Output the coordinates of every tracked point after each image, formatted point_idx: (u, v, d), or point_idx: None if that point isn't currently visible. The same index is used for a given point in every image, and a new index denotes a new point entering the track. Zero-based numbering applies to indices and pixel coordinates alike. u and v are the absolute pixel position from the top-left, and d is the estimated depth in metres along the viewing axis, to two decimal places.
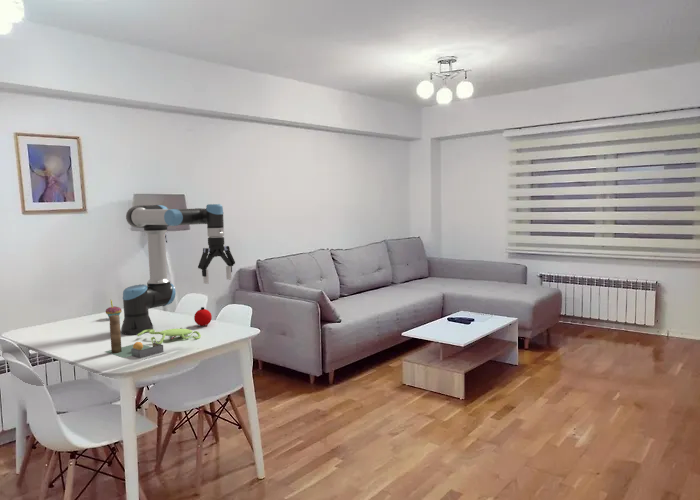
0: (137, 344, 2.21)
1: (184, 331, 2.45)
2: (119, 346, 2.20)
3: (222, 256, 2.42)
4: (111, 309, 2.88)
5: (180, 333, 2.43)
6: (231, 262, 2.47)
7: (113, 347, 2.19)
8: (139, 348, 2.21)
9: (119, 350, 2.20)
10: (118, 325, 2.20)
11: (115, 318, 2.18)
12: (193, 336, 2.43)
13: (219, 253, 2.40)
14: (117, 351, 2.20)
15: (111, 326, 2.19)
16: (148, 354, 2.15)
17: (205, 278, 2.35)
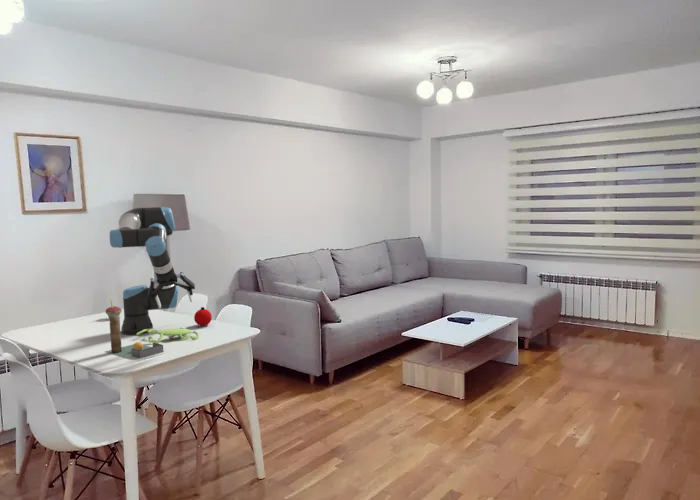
0: (137, 344, 2.21)
1: (182, 331, 2.45)
2: (119, 346, 2.20)
3: None
4: (111, 309, 2.88)
5: (178, 333, 2.43)
6: None
7: (113, 347, 2.19)
8: (139, 348, 2.21)
9: (119, 350, 2.20)
10: (118, 325, 2.20)
11: (115, 318, 2.18)
12: (191, 336, 2.42)
13: (170, 283, 2.20)
14: (117, 351, 2.20)
15: (111, 326, 2.19)
16: (148, 354, 2.15)
17: None
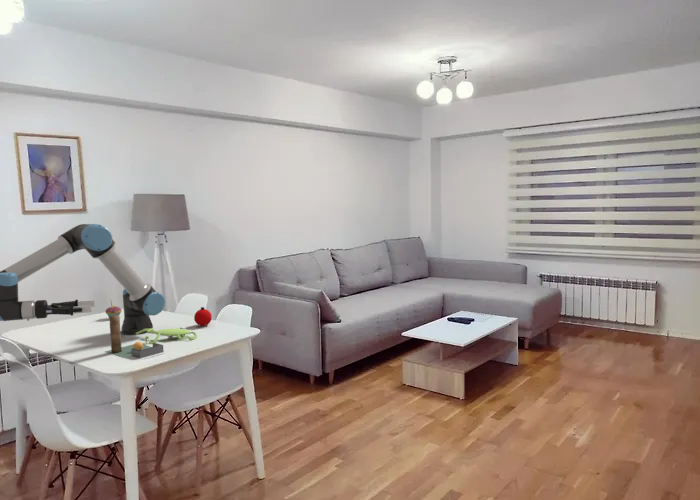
0: (137, 344, 2.21)
1: (181, 331, 2.45)
2: (119, 346, 2.20)
3: None
4: (111, 309, 2.88)
5: (176, 333, 2.43)
6: None
7: (113, 347, 2.19)
8: (139, 348, 2.21)
9: (119, 350, 2.20)
10: (118, 325, 2.20)
11: (115, 318, 2.18)
12: (188, 337, 2.42)
13: None
14: (117, 351, 2.20)
15: (111, 326, 2.19)
16: (148, 354, 2.15)
17: None
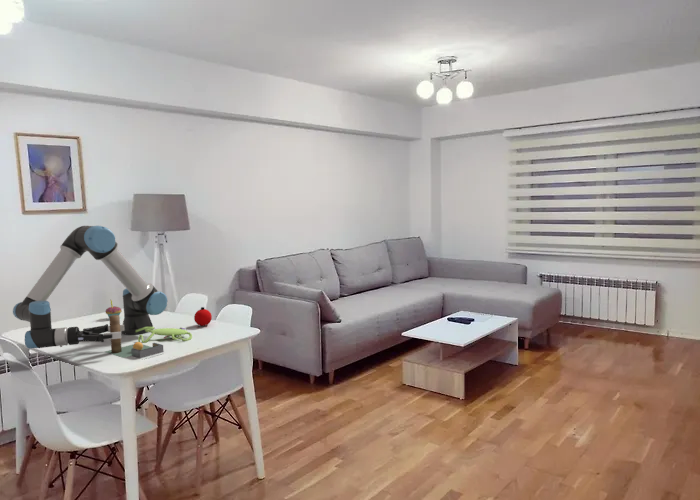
0: (137, 344, 2.21)
1: (176, 331, 2.45)
2: (119, 346, 2.20)
3: None
4: (111, 309, 2.88)
5: (170, 333, 2.43)
6: None
7: (113, 347, 2.19)
8: (139, 348, 2.21)
9: (119, 350, 2.20)
10: (118, 325, 2.20)
11: (115, 318, 2.18)
12: None
13: None
14: (117, 351, 2.20)
15: (111, 326, 2.19)
16: (148, 354, 2.15)
17: None
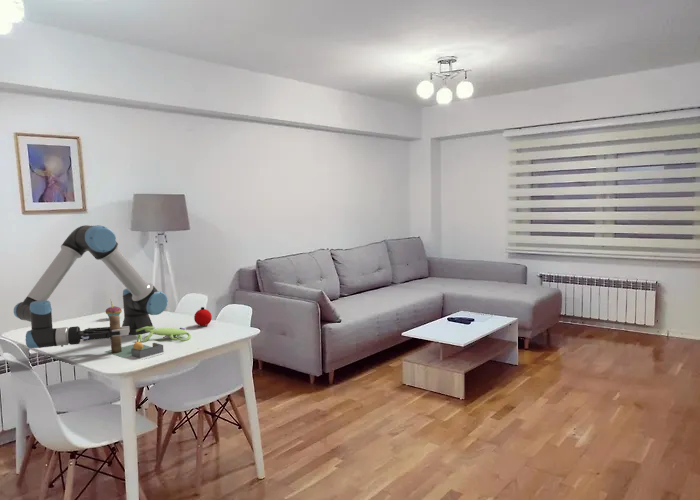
0: (137, 344, 2.21)
1: (175, 331, 2.45)
2: (119, 346, 2.20)
3: None
4: (111, 309, 2.88)
5: (169, 333, 2.43)
6: None
7: (113, 347, 2.19)
8: (139, 348, 2.21)
9: (119, 350, 2.20)
10: (118, 325, 2.20)
11: (115, 318, 2.18)
12: (179, 338, 2.40)
13: None
14: (117, 351, 2.20)
15: (111, 326, 2.19)
16: (148, 354, 2.15)
17: None
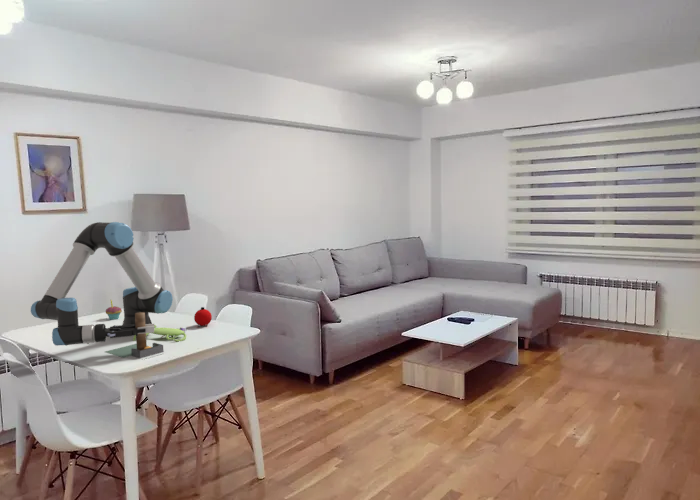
0: None
1: (171, 331, 2.45)
2: (144, 344, 2.19)
3: None
4: (111, 309, 2.88)
5: (165, 333, 2.44)
6: None
7: (138, 345, 2.18)
8: None
9: None
10: (144, 322, 2.19)
11: (141, 315, 2.17)
12: (173, 338, 2.40)
13: None
14: (142, 349, 2.19)
15: (137, 323, 2.17)
16: (148, 354, 2.15)
17: None
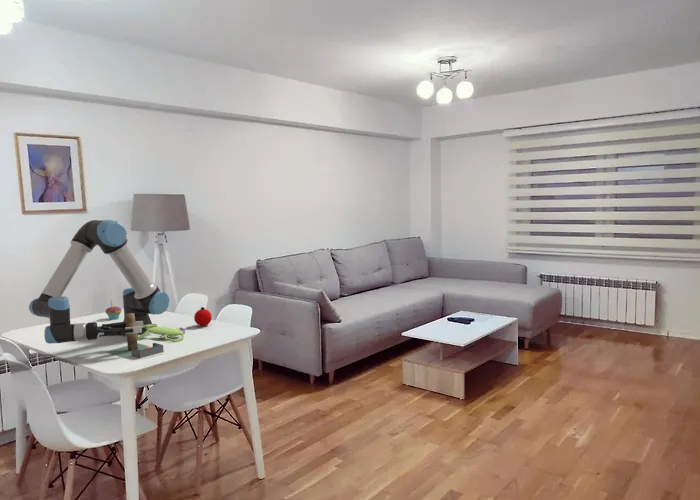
0: None
1: (170, 331, 2.45)
2: (135, 344, 2.23)
3: None
4: (111, 309, 2.88)
5: (164, 333, 2.44)
6: None
7: (129, 345, 2.22)
8: (146, 347, 2.18)
9: (135, 348, 2.23)
10: (134, 323, 2.23)
11: (130, 316, 2.21)
12: (170, 338, 2.40)
13: None
14: None
15: (127, 324, 2.22)
16: (148, 354, 2.15)
17: None
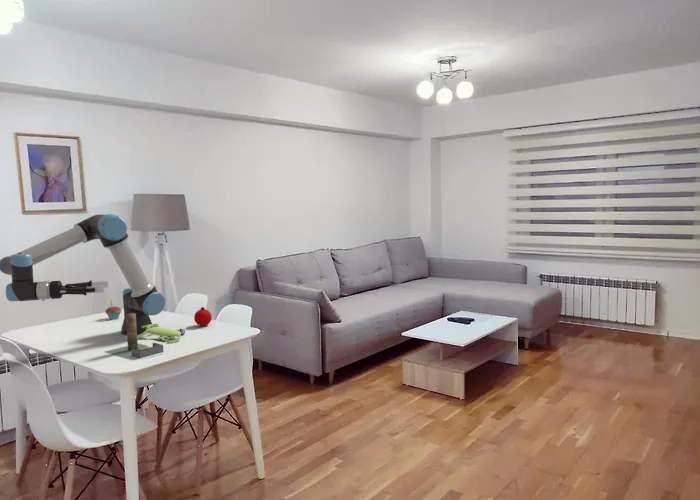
0: None
1: (167, 332, 2.43)
2: (135, 344, 2.23)
3: None
4: (111, 309, 2.88)
5: (161, 333, 2.42)
6: None
7: (130, 345, 2.22)
8: (146, 347, 2.18)
9: (135, 348, 2.23)
10: (134, 323, 2.23)
11: (132, 316, 2.22)
12: (165, 339, 2.38)
13: None
14: None
15: (128, 324, 2.22)
16: (148, 354, 2.15)
17: None
